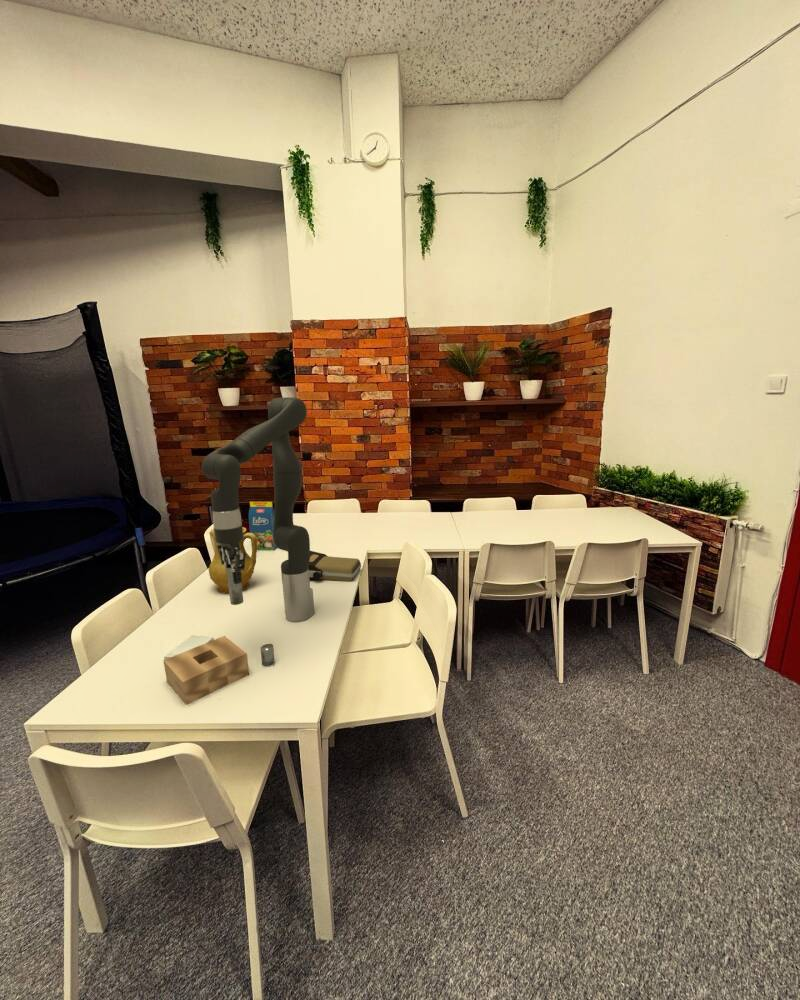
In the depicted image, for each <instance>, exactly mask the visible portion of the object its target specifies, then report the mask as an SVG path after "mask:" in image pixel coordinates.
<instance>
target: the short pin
mask: <svg viewBox="0 0 800 1000" xmlns="http://www.w3.org/2000/svg"><path fill="white" fill-rule="evenodd" d="M260 657H261V665H262V666H263V667H271V666H273V665H274V664H275V663H276V660H275V659H276V658H275V650H274V644H272V643H266V644H263V645H261V647H260Z"/></svg>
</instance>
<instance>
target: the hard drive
mask: <svg viewBox="0 0 800 1000" xmlns="http://www.w3.org/2000/svg"><path fill="white" fill-rule="evenodd" d="M213 640H215V639H214V637H213V636H206V635H205V636H203V635H194V634H192V635H189V637H188V638H186V639H185V640H184V641H182V642H181V643H180V644H179V645H177V646H176V647H175V648H173V649H172V650H171V651H170V652H169V653H167V654H166V655H165V656H164V657H163V660H165V659H168V658H170V657H173V656H175V655H178V654H180V653H183V652H185V651H188V650H190V649H193V648H195V647H198V646H200V645H203V644H205V643H208V642H210V641H213Z"/></svg>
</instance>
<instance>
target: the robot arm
mask: <svg viewBox="0 0 800 1000" xmlns="http://www.w3.org/2000/svg"><path fill="white" fill-rule="evenodd" d="M307 412H308V410H307V405H306V404H305V402H304V401H303V400H302V399H301V398H297V397H291V396H290V397H274V398H272V400H270V402H269V404H268V408H267V413H268V414H267V417H268V420H266V421H264V422H262V423H259V424H257V425H255V426H253V427H251V428H248V429H247V430H245V431H244V432H242V433H241V434H240V435H239V436H237V437H236V438H235V439H234V440H233V441H231V442H229V443H228V444H225V445H224V446H221V447H219V448H217V449H215V450H213V451H212V452H210V453H209V454H207V455H206V456H205V458H204V459H203V460H202V463H201V471H202V474H203V475H204V476H205V477H206V478H207V479H210V480H218V487H217V488H215V489H213V490H212V491H211V493H210V496H211V497H210V500H211V507H212V524H213V530H214V533H215V541H216V542H217V543H219V544H220V545H217V549H218V552H219V556H220V560H221V563H222V565H223V564H224V567H225V568H227V567H228V566H231V568H232V574H233V582H234V584H238V583H241V582H242V577H241V570H244V569H245V558H246V553H247V552H246V553H245V552H241V550H240V546H239V542H240V541H241V540H242V539H243V529H242V527H243V522H242V514H241V511H240V510H241V509H240V503H239V495H238V493H239V487H240V483H241V482H240V481H241V474H242V469H241V464H246V463H248V462H249V461H250V460H251V459H253V458H254V457H255V456H256V455H258V453H260V452H261V451H262V450H263V449H265V448H266V447H267V446H269V444H271V450H272V464H273V465H272V468H273V469H272V471H273V473H272V474H273V476H272V478H273V488H274V489H273V491H274V492H273V493H274V499H273V501H274V510H275V514H274V530H273V539H274V543H275V545H276V547H277V548H276V549H279V550H282V551H285V552H287V559H286V560H284V561H283V562H281V564H280V571H281V582H282V592H283V604H284V614H285V619H286V620H287V621H289V622H295V623H297V622H298V623H299V622H303V621H307V620H309V618H311V617H312V615H314V614H315V602H314V590H313V588H312V587H311V581H310V580H309V567H308V565H309V561H310V551H311V542H310V541H311V540H310V535H309V532H308V529H307V528H306V527H304V526H301V525H297V524H294V507H295V504H296V502H297V499H298V498H299V496H300V493H301V490H302V487H303V473H302V472H303V469H302V463H301V462H300V460H299V458H298V456H297V453H296V451H295V450H294V448H293V446H292V444H291V440H290V433H289V432H290V431H291V430H293V429H295V428H297V427H300V425H302V424H303V423H304V422H305V420H306V418H307V415H308V414H307ZM234 559H235V561H234ZM234 564H235V566H234ZM226 573H227V570H226ZM227 579H228V578H227Z"/></svg>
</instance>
